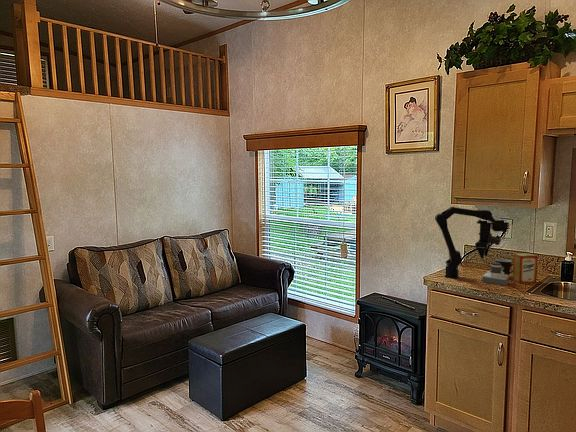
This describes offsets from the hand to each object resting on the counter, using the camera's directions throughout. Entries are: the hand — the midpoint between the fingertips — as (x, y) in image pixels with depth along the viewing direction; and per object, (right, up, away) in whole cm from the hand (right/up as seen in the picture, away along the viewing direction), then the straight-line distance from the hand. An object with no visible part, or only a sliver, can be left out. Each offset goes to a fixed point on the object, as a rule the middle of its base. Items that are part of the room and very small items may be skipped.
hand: (484, 257), depth 244 cm
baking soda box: (+19, -13, -8) cm, 25 cm away
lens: (+2, -9, -9) cm, 13 cm away
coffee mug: (+13, -12, +2) cm, 19 cm away
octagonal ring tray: (+2, -13, -9) cm, 16 cm away
